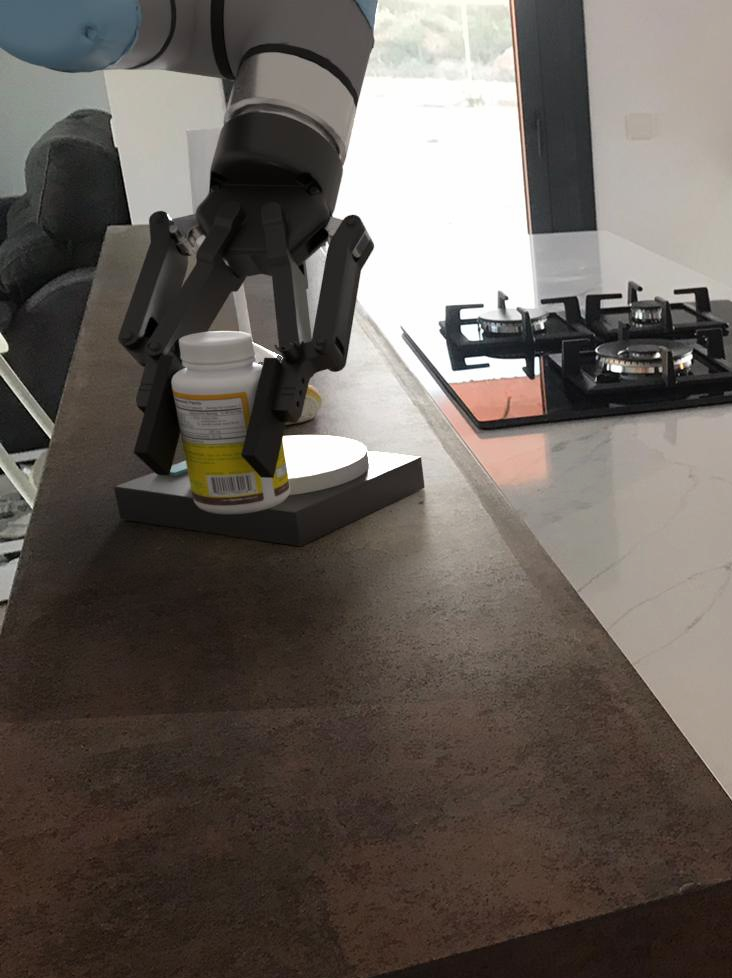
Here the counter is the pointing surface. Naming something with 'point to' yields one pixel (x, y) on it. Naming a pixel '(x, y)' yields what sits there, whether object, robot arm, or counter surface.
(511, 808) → the counter surface
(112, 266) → the counter surface
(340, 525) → the scale
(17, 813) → the counter surface
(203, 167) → the champagne flute
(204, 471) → the supplement bottle
